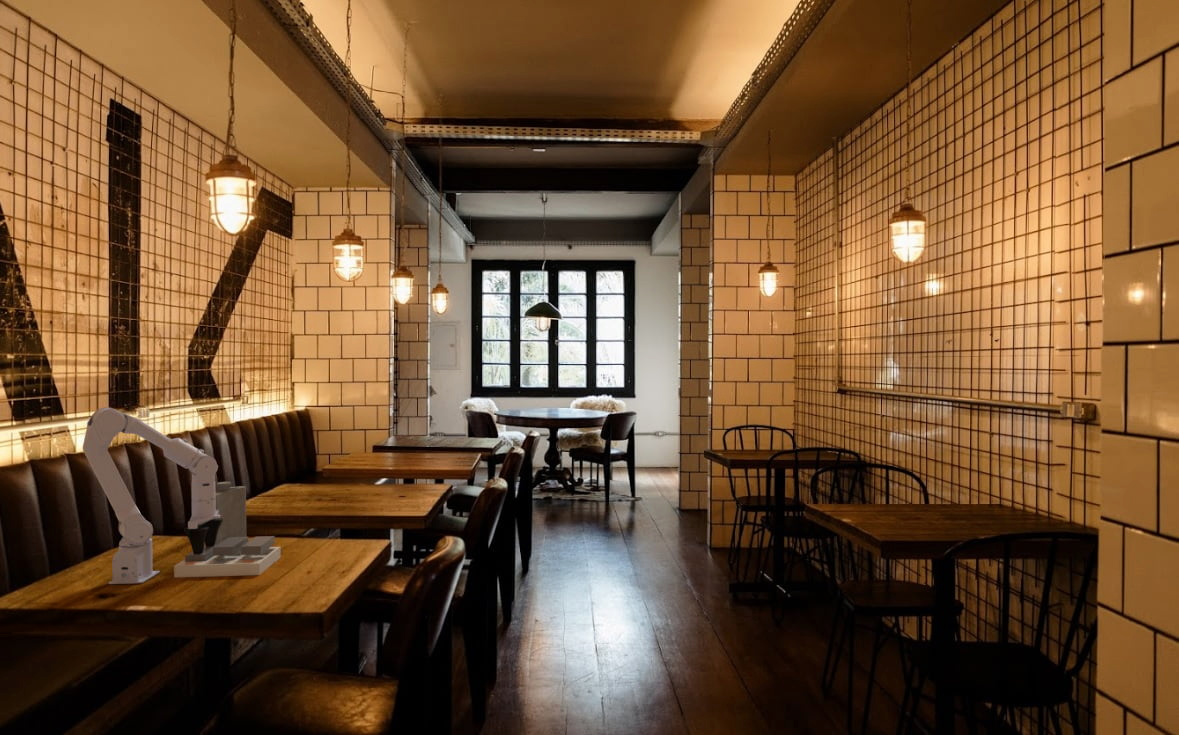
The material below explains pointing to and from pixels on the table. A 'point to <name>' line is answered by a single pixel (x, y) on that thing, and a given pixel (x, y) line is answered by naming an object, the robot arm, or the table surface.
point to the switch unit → (229, 565)
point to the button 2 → (257, 545)
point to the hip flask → (231, 511)
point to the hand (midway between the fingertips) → (204, 549)
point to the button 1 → (200, 555)
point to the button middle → (229, 546)
